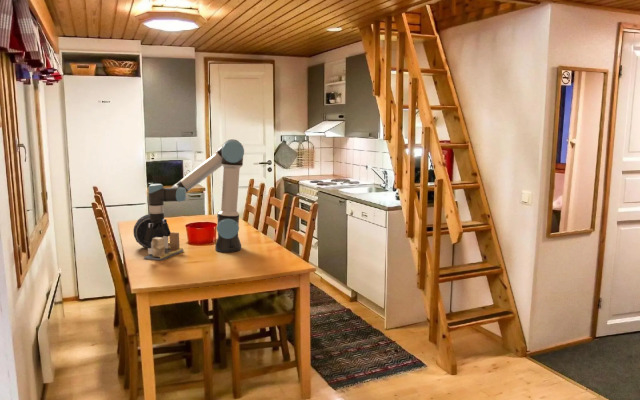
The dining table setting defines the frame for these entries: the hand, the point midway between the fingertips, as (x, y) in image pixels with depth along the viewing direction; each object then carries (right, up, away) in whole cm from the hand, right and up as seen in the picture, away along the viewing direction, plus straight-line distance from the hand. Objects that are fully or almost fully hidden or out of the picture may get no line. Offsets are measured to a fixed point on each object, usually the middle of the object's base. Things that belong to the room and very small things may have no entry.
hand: (158, 250), depth 277 cm
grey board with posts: (+1, -3, +7) cm, 8 cm away
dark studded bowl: (-11, -1, +24) cm, 27 cm away
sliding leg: (-1, -3, +1) cm, 3 cm away
